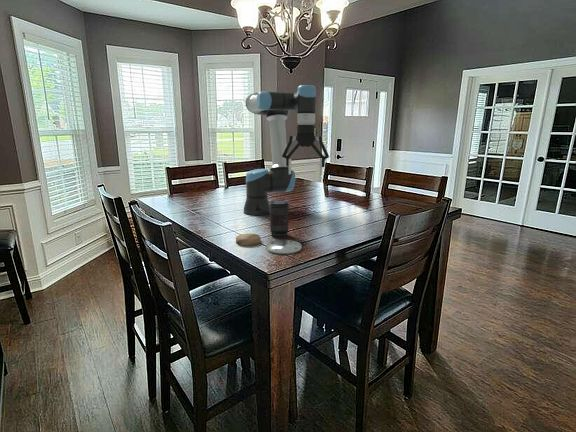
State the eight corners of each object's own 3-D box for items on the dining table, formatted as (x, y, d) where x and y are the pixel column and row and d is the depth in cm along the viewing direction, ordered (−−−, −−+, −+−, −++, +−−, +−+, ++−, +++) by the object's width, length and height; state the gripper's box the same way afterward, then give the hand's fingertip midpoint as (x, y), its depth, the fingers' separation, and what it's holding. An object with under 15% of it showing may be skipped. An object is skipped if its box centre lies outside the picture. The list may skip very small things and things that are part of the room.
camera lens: (288, 232, 152) (288, 199, 148) (288, 238, 144) (289, 204, 140) (270, 232, 152) (269, 200, 148) (269, 238, 144) (269, 204, 140)
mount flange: (258, 249, 131) (258, 247, 130) (278, 239, 142) (278, 237, 142) (289, 257, 124) (289, 254, 123) (308, 246, 135) (308, 243, 135)
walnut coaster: (230, 244, 138) (230, 238, 137) (246, 237, 146) (246, 232, 146) (250, 248, 133) (250, 242, 132) (265, 241, 141) (265, 236, 140)
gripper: (275, 124, 142) (275, 174, 147) (335, 124, 138) (333, 176, 144) (278, 124, 149) (278, 172, 155) (336, 124, 145) (334, 173, 151)
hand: (305, 174), depth 149 cm, fingers open, 13 cm apart
